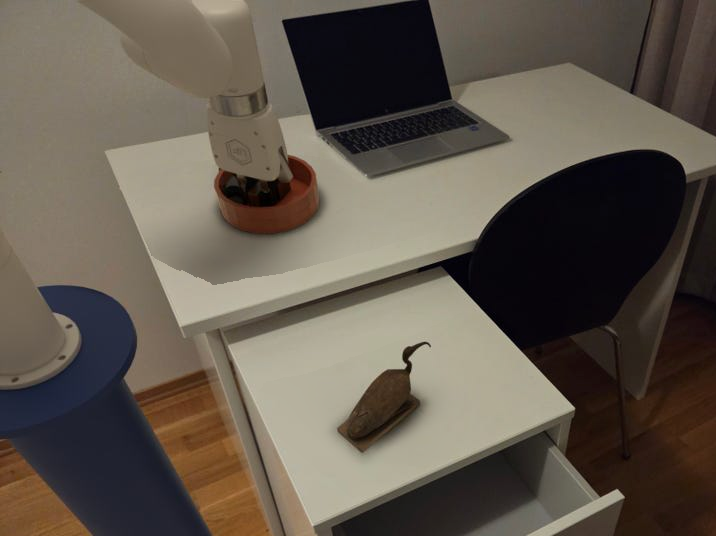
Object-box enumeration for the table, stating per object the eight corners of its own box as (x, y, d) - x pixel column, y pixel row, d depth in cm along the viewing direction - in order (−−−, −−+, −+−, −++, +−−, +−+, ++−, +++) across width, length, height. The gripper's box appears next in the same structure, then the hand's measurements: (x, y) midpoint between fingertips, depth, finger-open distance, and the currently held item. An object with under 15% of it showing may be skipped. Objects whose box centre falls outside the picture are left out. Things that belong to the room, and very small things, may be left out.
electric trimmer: (239, 157, 111) (235, 140, 109) (250, 208, 102) (245, 191, 99) (216, 160, 110) (212, 143, 108) (225, 212, 101) (220, 195, 98)
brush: (267, 218, 100) (262, 196, 97) (246, 213, 100) (241, 191, 97) (292, 188, 105) (289, 167, 102) (273, 183, 106) (268, 162, 103)
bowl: (201, 219, 99) (193, 195, 96) (252, 168, 109) (246, 144, 106) (291, 243, 97) (287, 219, 94) (335, 188, 107) (332, 165, 104)
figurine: (417, 366, 83) (417, 321, 77) (442, 385, 82) (444, 340, 75) (336, 432, 76) (328, 387, 69) (362, 454, 74) (357, 410, 68)
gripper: (171, 97, 86) (206, 209, 100) (277, 121, 84) (298, 232, 98) (202, 72, 91) (231, 183, 105) (303, 95, 89) (319, 204, 103)
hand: (263, 206), depth 101 cm, fingers closed on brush
